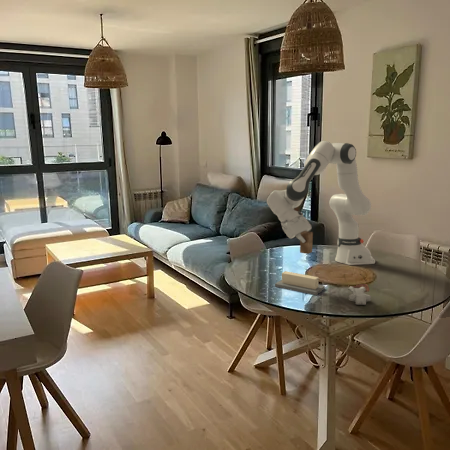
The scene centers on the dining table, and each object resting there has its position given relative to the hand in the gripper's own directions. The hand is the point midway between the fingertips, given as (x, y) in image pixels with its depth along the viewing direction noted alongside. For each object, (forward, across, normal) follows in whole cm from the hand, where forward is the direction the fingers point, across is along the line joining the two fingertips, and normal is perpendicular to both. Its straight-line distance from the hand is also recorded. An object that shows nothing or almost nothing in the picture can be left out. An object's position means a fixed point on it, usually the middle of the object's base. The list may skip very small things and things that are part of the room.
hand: (307, 240), depth 215 cm
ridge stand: (+15, -3, +18) cm, 24 cm away
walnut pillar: (+4, 0, +5) cm, 6 cm away
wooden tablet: (+30, +18, +4) cm, 36 cm away
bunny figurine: (+36, -3, -3) cm, 36 cm away
